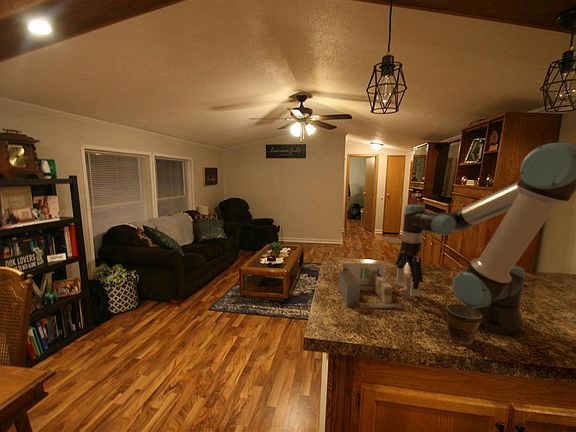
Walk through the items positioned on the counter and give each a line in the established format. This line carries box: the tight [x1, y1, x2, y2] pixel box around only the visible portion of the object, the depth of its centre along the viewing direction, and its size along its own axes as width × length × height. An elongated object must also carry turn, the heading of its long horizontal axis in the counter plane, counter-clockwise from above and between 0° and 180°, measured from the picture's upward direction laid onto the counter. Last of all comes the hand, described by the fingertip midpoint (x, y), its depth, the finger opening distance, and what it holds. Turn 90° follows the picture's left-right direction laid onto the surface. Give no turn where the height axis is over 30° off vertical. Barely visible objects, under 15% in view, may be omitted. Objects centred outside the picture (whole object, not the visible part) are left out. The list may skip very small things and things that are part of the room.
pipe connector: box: [394, 275, 421, 300], centre depth 118 cm, size 10×10×10 cm
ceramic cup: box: [438, 303, 482, 346], centre depth 91 cm, size 13×10×10 cm
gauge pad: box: [373, 274, 393, 304], centre depth 120 cm, size 15×3×7 cm, turn 1°
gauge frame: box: [338, 262, 402, 309], centre depth 119 cm, size 20×22×12 cm
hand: (406, 288), depth 119 cm, fingers open, 13 cm apart
